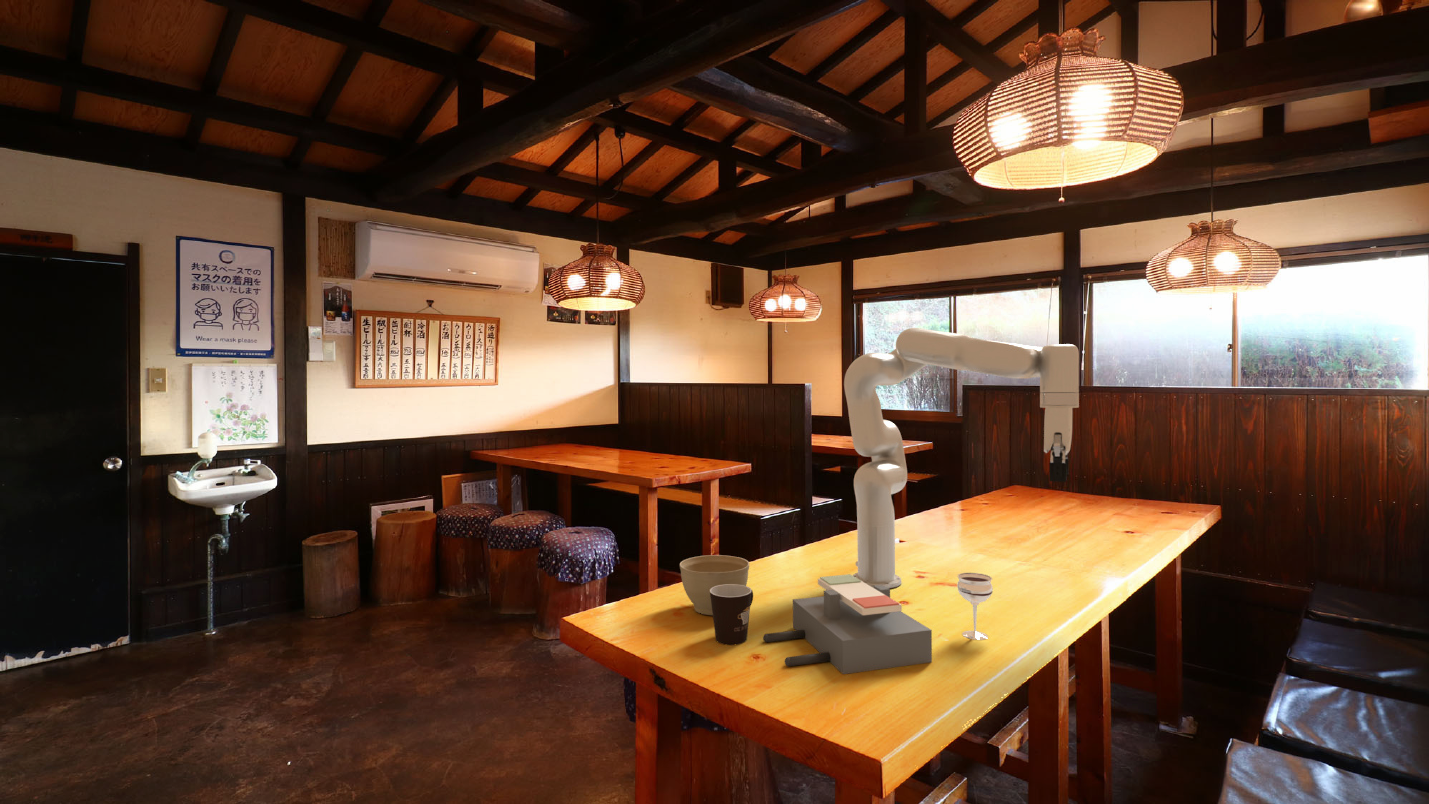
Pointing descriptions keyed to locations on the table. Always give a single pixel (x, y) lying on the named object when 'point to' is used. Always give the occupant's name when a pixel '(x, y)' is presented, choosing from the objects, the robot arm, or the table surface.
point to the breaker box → (855, 635)
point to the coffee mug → (731, 612)
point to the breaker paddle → (859, 595)
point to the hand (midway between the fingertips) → (1059, 478)
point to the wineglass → (975, 596)
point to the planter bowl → (711, 577)
